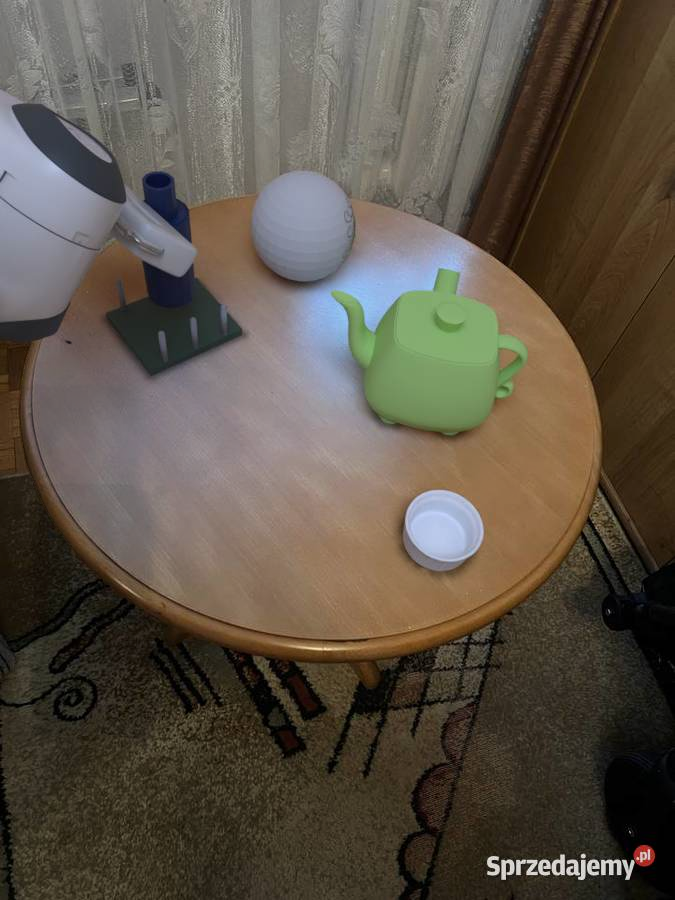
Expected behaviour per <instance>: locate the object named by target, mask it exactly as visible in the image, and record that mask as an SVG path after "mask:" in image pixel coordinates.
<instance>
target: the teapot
mask: <svg viewBox="0 0 675 900" xmlns="http://www.w3.org/2000/svg"><path fill="white" fill-rule="evenodd" d="M436 273H437V274H436V276H435V277H436V278H435V280H434V285H433V288H432V290H423V289H419V290H418V289H415V290H407V291H405V292H403V293H401V295H399V296H398V297H397V298H396V299H395V301H394V302H393V303H391V305H390V306H389V307H388V309H387V310H386V312H385V313H384V314H383V315H382V317H381V319H380V320H379V322H378V324H377V326H376V328H375V331H372V330H370V328H368V327H367V325H366V322H365V311H364V308H363V306H362V304H361V302H360V301H359V300H358V299H357V298H356V297H355V296H353V295H352V294H349V293H347V292H345V291H341V290H335V289H334V290H331V291H330V296H331V297H332V298H333V299H334V300H335V301H336V302H338V304H340V306H342V308H343V309H344V311H345V312H346V316H347V324H348V325H347V326H348V327H347V340H348V341H347V343H348V348H349V351H350V353H351V355H352V357H353V359H354V360H355V361H356V363H357V364H359V366H361V367H362V368H363V369H364V374H363V387H364V390H363V392H364V395H365V398H366V401H367V403H368V405H369V406H370V408H371V409H372V411H374V412H375V413H376V414H378V417H379V418H380V420H381V421H383V423H385V424H389V425H396V424H400V425H403V426H406V427H409V428H413V429H417V430H421V431H429V432H440V433H442V434H443V435H447V436H455V435H457V434H458V433H459V432H465V431H469V430H472V429H475V428H476V427H479V426H480V425H482V424H483V423H484V422H485V421H487V419H488V417H489V416H490V413H491V412H492V409H493V406H494V404H495V400H496V399H507V398H508V397H510V396H511V395H512V393H513V392H514V390H515V389H514V388H515V384H514V381H513V380H512V378H514V377H515V376H517V374H519V373H520V372H521V371H522V370H523V369H524V367H525V366H526V364H527V362H528V359H529V353H528V352H529V351H528V348H527V345H526V344H525V343H524V342H523V341H522V340H521V339H519V338H518V337H516V336H514V335H511V334H506V333H505V334H503V333H500V331H499V320H498V317H497V313H496V311H495V310H494V309H493V308H492V307H490V306H488V305H487V304H485V303H483V302H480V301H479V300H475V299H473V298H470V297H465V296H462V295H458V294H457V290H458V287H459V286H458V285H459V281H460V276H461V272H460V271H456V270H452V269H447V268H441V267H439V268H438V270H437V272H436ZM501 350H507V351H511V352H513V353H515V354H516V355H517V356H516V357H515V359H513V360H512V362H510V363H509V364H508V365H506V366H504V367H503V368H502V369H500V367H501Z"/></svg>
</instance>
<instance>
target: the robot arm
mask: <svg viewBox="0 0 675 900" xmlns="http://www.w3.org/2000/svg"><path fill="white" fill-rule="evenodd" d="M120 169H121V168H120V167H119V164H118V161H117V159H116V157H115V155H114V154H113V153H112V152H111V151H110V150H109V148H107V146H106V145H105V144H104V143H103V142H101V141H100V139H98V138H96V137H95V136H94V135H92V134H91V133H90V132H88V131H86V130H85V129H83V128H82V127H80V126H78V125H77V124H75V123H73V122H72V121H70V120H68V118H65V117H64V116H62V115H60V114H58V113H57V112H56V111H54V110H52V109H50V108H48V107H47V106H45V105H44V104H42V103H29V102H24V101H22V100H21V99H20V98H18V97H16V96H14V95H12V94H10V93H9V92H7V91H4V89H3V90H2V89H1V88H0V340H3V341H8V342H11V343H19V344H20V343H21V344H22V343H30V342H36V341H40V340H43V339H46V338H50V337H52V336H54V335H55V334H56V333H58V331H59V329H60V326H61V325H62V322H63V320H64V318H65V316H66V315H67V312H68V310H69V308H70V306H71V301H72V299H73V298H74V296H75V294H76V293H77V290H78V289H79V288H80V285H81V284H82V282H83V280H84V278H85V277H86V275H87V273H88V272H89V270H90V268H91V267H92V265H93V263H94V261H95V260H96V258H97V257H98V255H99V253H100V252H101V250H102V247H103V245H104V243H105V241H106V240H107V238H108V236H109V235H110V236H112V237H113V238H114V239H115V240H116V241H117V242H118V243H119V244H120V245H121V246H122V247H123V248H124V249H125V250H126V251H128V252H129V253H130V254H132V255H133V256H135V257H136V258H138V259H140V260H141V261H142V260H143V261H145V262H147V263H149V264H151V265H153V266H155V267H157V268H159V269H161V270H163V271H165V272H167V273H169V274H171V275H174V276H176V277H181V276H183V275H184V274H185V273H186V272H187V270H188V269H189V268H190V266H191V265H192V263H193V264H194V261H195V259H196V257H197V255H198V249H197V248H196V247H195V245H194V244H193V243H192V244H191V243H190V242H189V241H188V240H187V239H185V238H184V237H183V236H182V235H181V234H180V233H179V232H178V231H177V230H175V229H174V228H173V227H172V226H171V225H170V224H169V223H168V222H167V221H165V220H164V219H163V218H162V217H161V216H160V215H159V214H158V213H157V212H155V211H154V210H153V209H152V208H151V207H150V206H149V205H148V204H147V203H146V202H144V201H143V200H144V199H142V198H141V197H140V196H139V195H138V194H137V193H136V192H135V191H133V190H132V189H131V188H130V187H129V186H128V185H127V184H125V181H124V179H123V175H122V173H121V170H120Z"/></svg>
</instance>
